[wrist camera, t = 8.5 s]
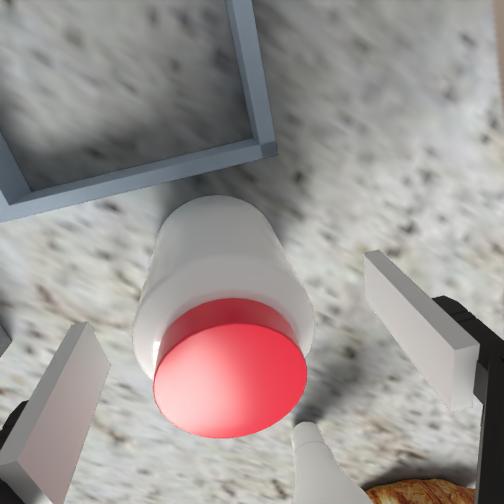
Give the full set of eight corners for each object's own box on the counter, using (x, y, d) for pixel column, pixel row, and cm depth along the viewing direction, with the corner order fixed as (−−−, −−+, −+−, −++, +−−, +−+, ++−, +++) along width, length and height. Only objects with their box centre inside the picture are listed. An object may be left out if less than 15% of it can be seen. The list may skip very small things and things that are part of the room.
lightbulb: (334, 441, 32) (395, 600, 22) (269, 452, 31) (301, 621, 21) (338, 394, 29) (409, 550, 19) (266, 405, 28) (302, 572, 19)
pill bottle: (137, 282, 22) (88, 437, 12) (183, 172, 20) (167, 257, 10) (244, 318, 24) (275, 472, 15) (297, 224, 22) (379, 334, 12)
